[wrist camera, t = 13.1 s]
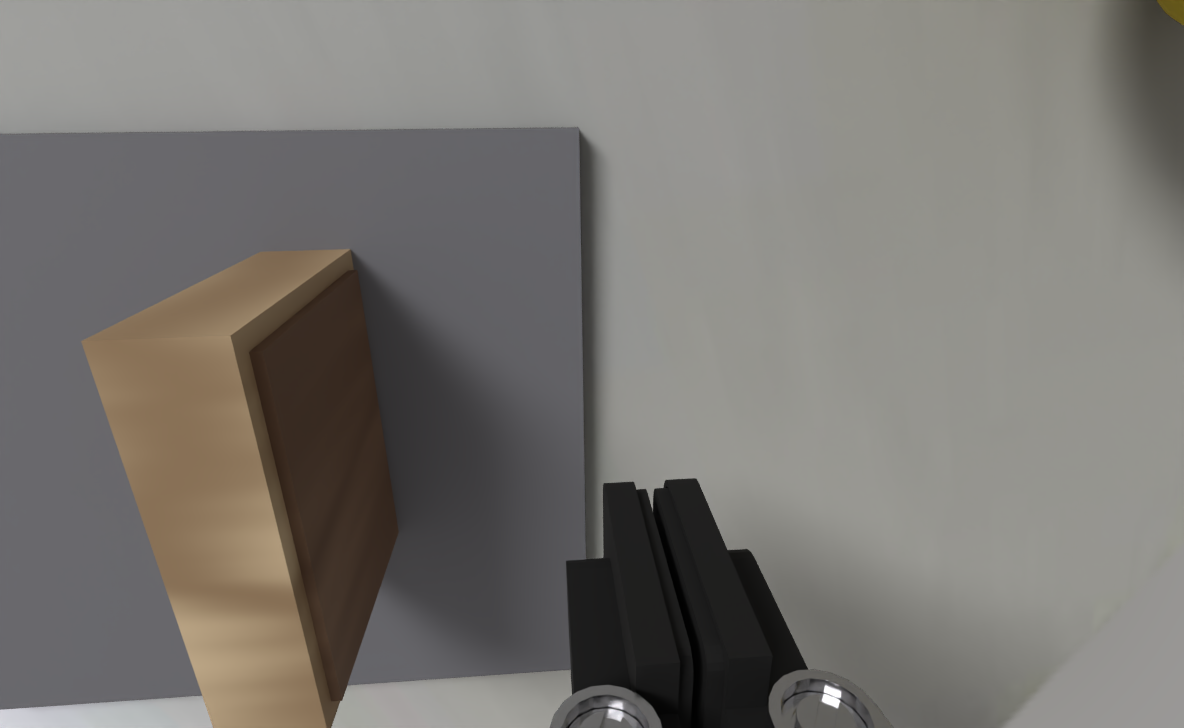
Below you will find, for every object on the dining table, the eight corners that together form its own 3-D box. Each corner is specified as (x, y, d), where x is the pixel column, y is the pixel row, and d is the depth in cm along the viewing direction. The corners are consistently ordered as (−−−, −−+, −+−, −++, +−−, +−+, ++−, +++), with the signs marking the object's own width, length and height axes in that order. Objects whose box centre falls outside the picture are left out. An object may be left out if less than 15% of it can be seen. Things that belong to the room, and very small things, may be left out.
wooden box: (403, 535, 17) (359, 248, 14) (339, 734, 12) (245, 334, 9) (322, 540, 17) (260, 251, 14) (218, 743, 12) (81, 340, 9)
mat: (577, 127, 14) (579, 128, 14) (586, 653, 20) (587, 668, 20) (-280, 136, 13) (-317, 137, 12) (-1, 693, 19) (-18, 710, 18)
